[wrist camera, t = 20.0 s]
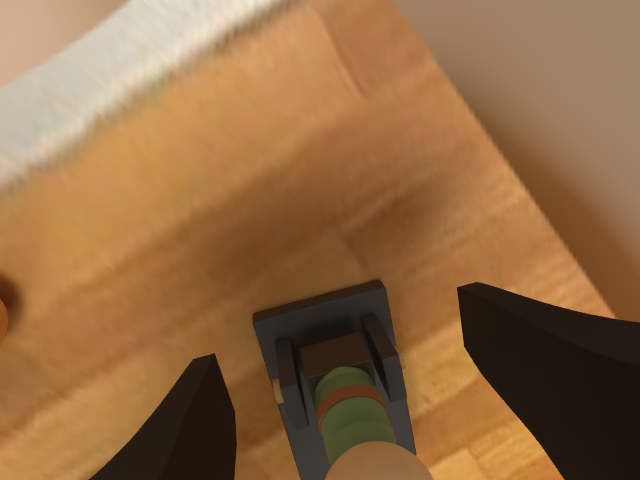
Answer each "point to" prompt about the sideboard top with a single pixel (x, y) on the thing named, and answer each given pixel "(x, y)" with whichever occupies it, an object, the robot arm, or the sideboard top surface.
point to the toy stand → (319, 326)
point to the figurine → (3, 321)
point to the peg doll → (354, 414)
